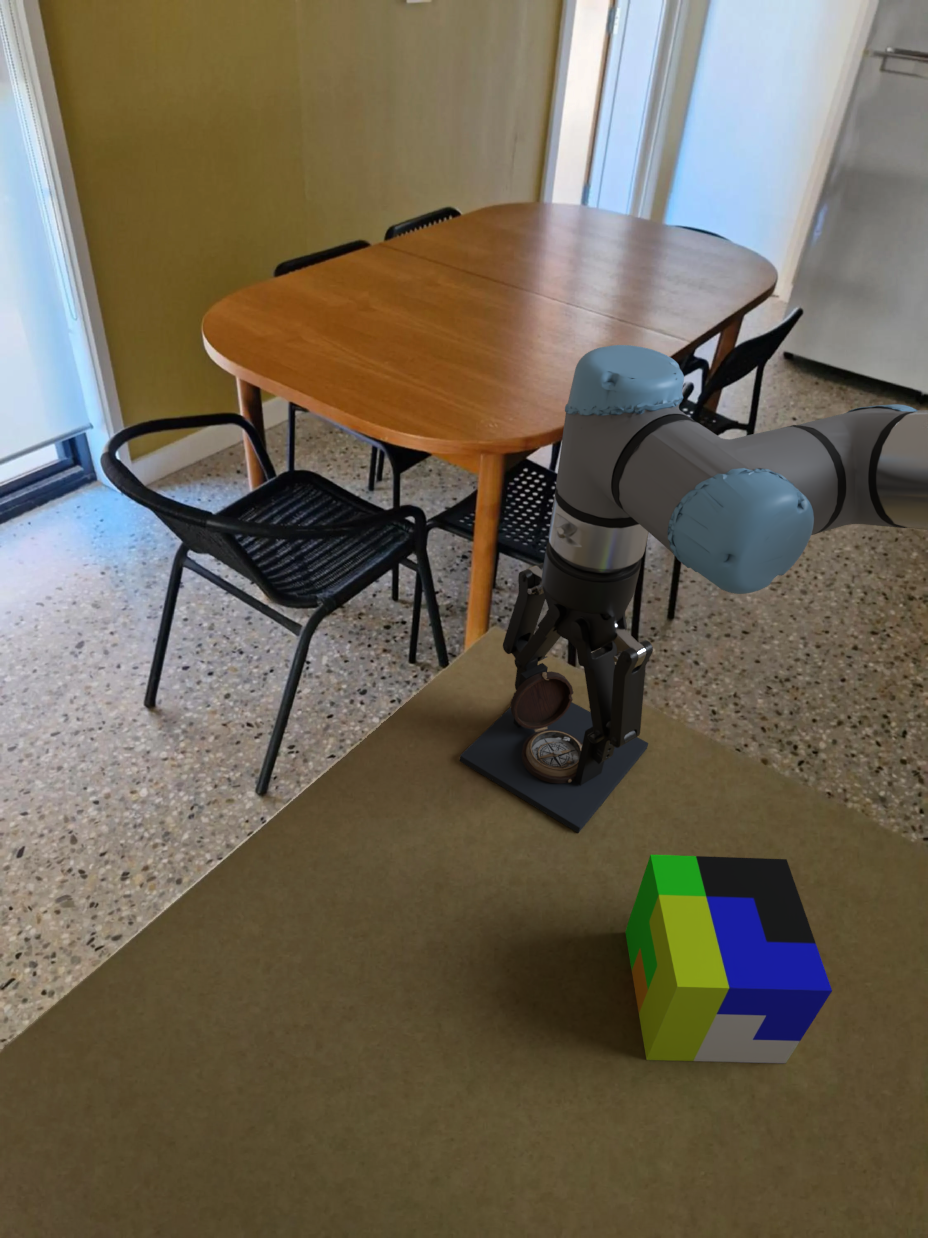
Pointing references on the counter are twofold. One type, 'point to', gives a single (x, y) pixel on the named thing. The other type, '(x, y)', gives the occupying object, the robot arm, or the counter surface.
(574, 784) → the mat
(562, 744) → the compass
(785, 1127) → the counter surface
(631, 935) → the puzzle toy
